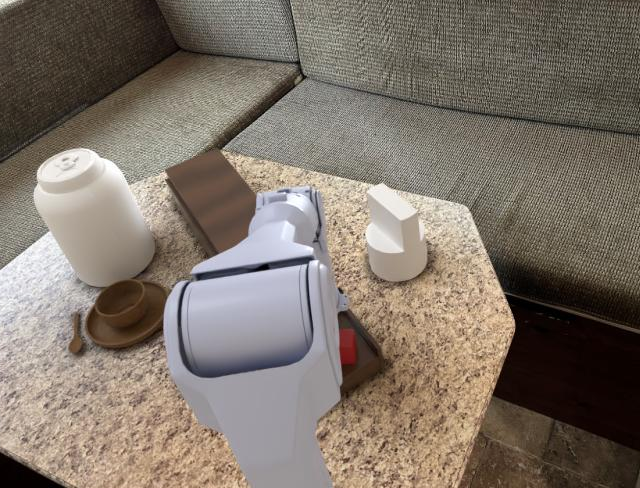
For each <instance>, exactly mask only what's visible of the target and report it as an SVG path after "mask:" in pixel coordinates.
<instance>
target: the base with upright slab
mask: <svg viewBox="0 0 640 488" xmlns="http://www.w3.org/2000/svg"><path fill="white" fill-rule="evenodd" d="M366 198H367V205H368V211H369V218H370V223H369V224H368V225H367V227H366V229H365V234H364V237H365V244H366V250H367V256H368V262H369V266H370V269H371V271H372V272H373V274H374V275H375V276H376V277H378V278H380V279H382V280H385V281H388V282H393V283H395V282H396V283H397V282H404V281H409V280H411V279H413V278H415V277H417V276H419V275H420V274H422V272H423V271H424V270H425V268H426V267H427V265H428V247H427V234H426V225H425V224H424V222H423V220H421V218H420V217H419V211H418V210H417V208H416V207H414V206H412V205H411V204H410V203H409V202H407V201H406V200H405V199H404V198H403V197H401V196H400V195H399V194H397V193H396V192H395V191H394V190H393V189H391V188H390V187H388V185H386V184H385V183H384V182H381V183H379V184H376V185H373V186H372V187H370V188H369V189H367V190H366Z"/></svg>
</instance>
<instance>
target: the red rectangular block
mask: <svg viewBox="0 0 640 488" xmlns="http://www.w3.org/2000/svg"><path fill="white" fill-rule="evenodd" d="M356 351H357V344H356V339H355V334H354V330H353V329H343V330H339V352H340V361H341V364H355V362H356Z"/></svg>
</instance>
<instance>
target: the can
mask: <svg viewBox="0 0 640 488" xmlns="http://www.w3.org/2000/svg"><path fill="white" fill-rule="evenodd" d="M36 181H37V184H36V186H35V187H34V190H33V196H32V198H33V202H34V206H35V208H36V211H37V212H38V214H39V215H40V217H41V219H42V220H43V222H44V224H45V225H46V227H47V228H48V230H49V232H50V233H51V236H52V237H53V239H54V240H55V241H56V244H57V245H58V247H59V248H60V251H62V253H63V255H64V256H65V258H66V260H67V261H68V263H69V264H70V266H71V269H73V271H74V272H75V274H76V276H77V277H78V279H79V280H80V281H82V282H83V283H85V284H86V285H88V286H92V287H97V288H106V287H108V286H109V285H111V284H113V283H115V282H117V281H121V280H125V279H133V278H135V277H137V276H138V275H139V274H140V273H142V272H143V271H144V270H145V269H147V267H148V266H149V265H150V264H151V262H152V261H153V259H154V256H155V253H156V241H155V238H154V236H153V234H152V232H151V230H150V228H149V226H148V224H147V221H146V220H145V218H144V216H143V213H142V211H141V209H140V207H139V205H138V202H137V200H136V198H135V196H134V194H133V192H132V189H131V187H130V186H129V183H128V181H127V179H126V177H125V174H124V173H123V172H122V171H121V169H120V168H119V167H118V166H117V165H116V163H115V162H113V161H111V160H109V159H107V158H103V157H100V156H99V155H98V153H96V152H95V151H93V150H91V149H90V148H84V147H83V148H82V147H81V148H71V149H67V150H64V151H62V152H59V153H57V154H54V155H53V156H51V157H49V158H47V159H46V160H45V161H44V162H43V163H41V164H40V165H39V167H38V169H37V171H36Z"/></svg>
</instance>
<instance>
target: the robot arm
mask: <svg viewBox="0 0 640 488" xmlns="http://www.w3.org/2000/svg"><path fill="white" fill-rule="evenodd" d="M256 195H257V198H256V209H255V210H256V211H255V216H254V217H253V218H252V221H251V223H250V226H249V232H248V235H249V236H248V237H247V238H246V239H244V240H243V241H242V242H240V243H239V244H238V245H236V246H235V247H233V248H231V249H229V250H227V251H225V252H222V253H220V254H218V255H216V256H214V257H212V258H210V257H209V258H208V259H206V260H204V261H202V262H199V263H198V264H195V265H194V266H193V268H192V269H191V271H190V272H189V276H191V277H192V278H193V279H194V281H193V280H191V279H187V280H180V281H178V282H177V283H176V284H175V285H174V286H173V288H172V290H171V292H170V293H169V297H168V299H167V302H166V305H165V310H164V322H163V338H164V339H163V340H164V345H165V350H166V360H167V368H168V372H169V375H170V378H171V379H172V381H173V383H174V384H175V386H176V387H177V390H178V391H179V393H180V395H181V396H182V397H183V399H184V401H185V402H186V404H187V406H188V407H189V409H190V410H191V412H192V414H193V415H194V417H195V418H196V420H197V422H198V423H199V424H200V425H201V426H204V427H205V428H208V429H210V430H212V431H214V432H217V433H219V434H221V435H224V437H225V439H226V441H227V444H228V447H230V450H231V452H232V454H233V456H234V458H235V460H236V463H237V465H238V466H239V469H240V470H241V473H242V475H243V476H244V478H245V481H247V483H248V485H249V487H250V488H335V485H334V483H333V480H332V478H331V475H330V472H329V470H328V466H327V464H326V463H327V462H326V461H325V458H324V456H323V452H322V449H321V447H320V444H319V441H318V438H317V436H316V433H317V426H318V425H317V424H318V422H319V420H320V419H322V417H324V416H325V415H326V414H327V413H328V412H329V411H330V410H331V409H332V408H333V407H334V406H336V405H337V404H338V403H339V402H341V399H342V398H341V396H342V395H340V386H341V384H342V370H341V361H340V352H339V330H340V325H338V314H339V312H340V311H346V310H348V308H349V309H350V300H351V299H350V295H349V294H347V293H344V290H343V289H342V288H341V287H338V285H337V282H336V279H335V273H334V270H333V265H332V260H331V256H330V252H329V248H328V235H327V234H328V233H327V219H326V211H325V205H324V200H323V199H324V198H323V196H322V192H321V190H320V189H319V188H317V189H312V186H311V185H309V184H308V185H302V186H295V187H291V186H285V187H279V188H278V189H275V190H269V191H265V192H263V193H261V192H257V193H256ZM287 365H289V366H287ZM281 366H283V367H281Z"/></svg>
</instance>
